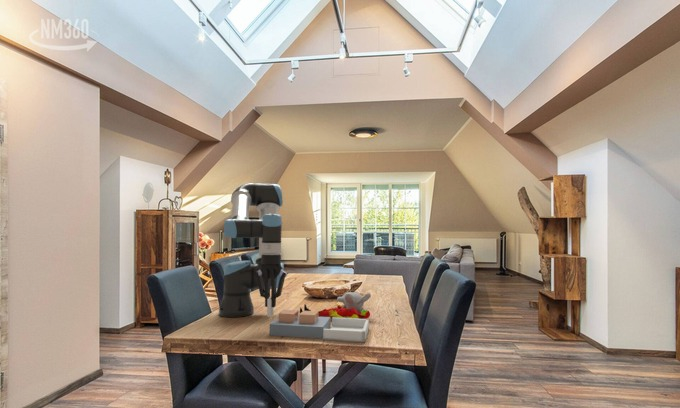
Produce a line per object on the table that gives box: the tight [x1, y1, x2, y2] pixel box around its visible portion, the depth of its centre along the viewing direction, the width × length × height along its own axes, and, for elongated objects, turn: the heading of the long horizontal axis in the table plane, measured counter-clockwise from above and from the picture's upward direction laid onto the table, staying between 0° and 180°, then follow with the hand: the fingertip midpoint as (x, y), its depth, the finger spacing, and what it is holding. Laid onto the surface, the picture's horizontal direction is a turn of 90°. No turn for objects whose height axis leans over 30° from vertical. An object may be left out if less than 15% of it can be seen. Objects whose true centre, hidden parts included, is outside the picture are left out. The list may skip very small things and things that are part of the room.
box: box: [323, 317, 370, 343], centre depth 133 cm, size 14×17×4 cm
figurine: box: [299, 303, 371, 319], centre depth 155 cm, size 12×6×30 cm
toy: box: [336, 291, 372, 313], centre depth 168 cm, size 12×10×30 cm
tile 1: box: [277, 309, 299, 322], centre depth 137 cm, size 6×6×3 cm
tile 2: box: [298, 310, 320, 323], centre depth 136 cm, size 6×6×3 cm
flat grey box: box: [268, 315, 332, 340], centre depth 136 cm, size 20×14×4 cm
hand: (270, 315), depth 138 cm, fingers closed
